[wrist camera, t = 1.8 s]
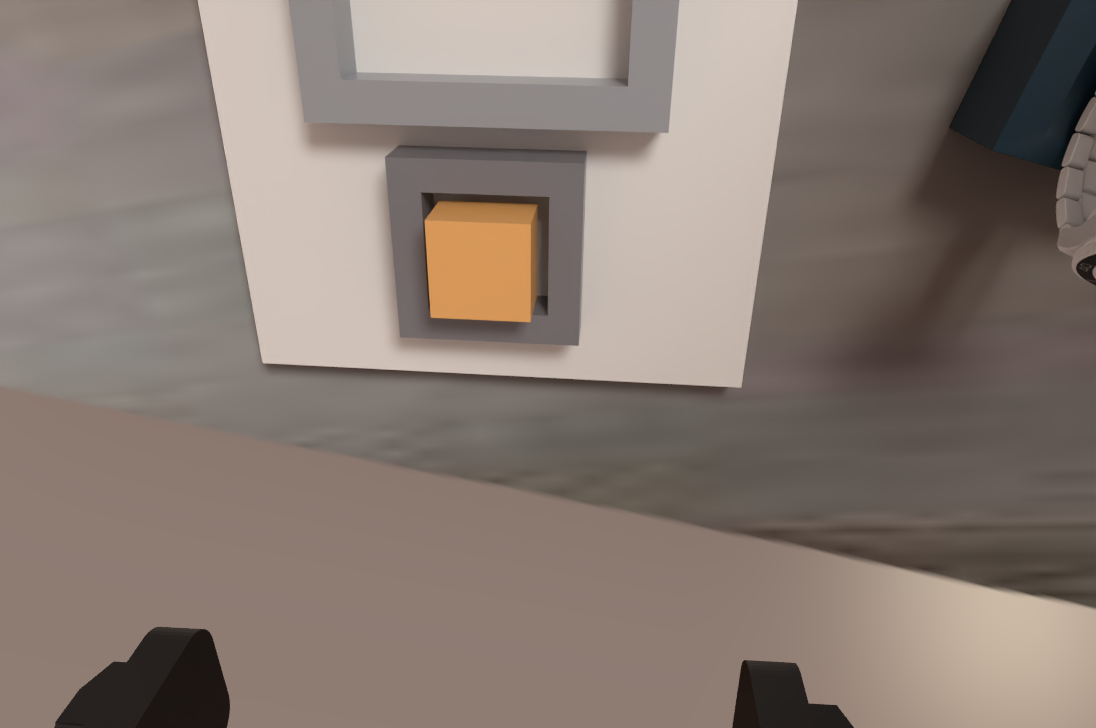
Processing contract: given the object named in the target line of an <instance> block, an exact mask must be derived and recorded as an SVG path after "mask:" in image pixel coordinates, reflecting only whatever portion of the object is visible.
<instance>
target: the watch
mask: <svg viewBox="0 0 1096 728" xmlns="http://www.w3.org/2000/svg"><path fill="white" fill-rule="evenodd" d="M949 128H951V129H953V130H955V131H957V132H959V133H961V134H962V135H964V136H966V137H968V138H970V139H972V140H974V141H976V142H977V143H979V144H981V145H983V146H985V147H987V148H989V149H990V150H992V151H996V152H999V153H1003V154H1006V155H1010V156H1013V157H1017V158H1020V159H1024V160H1027V161H1031V162H1034V163H1038V164H1041V165H1045V166H1048V167H1051V168H1055V169H1058V170H1061V172H1060V176H1059V180H1058V186H1057V193H1056V198H1057V199H1059V200H1058V201H1057V203H1056V220H1057V226H1058V228H1060V230H1059V237H1058V241H1057V247H1058V249H1059V250H1060V251H1062V252H1063V253H1065V254H1067V255H1069V256H1071V257H1073V260H1072V264H1071V265H1072V266H1071V267H1072V270H1073V271H1074V272H1075V274H1076V275H1078V276H1079V277H1080V278H1082V279H1083V280H1085V281H1087V282H1089V283H1091V284H1093V285H1096V0H1012V2H1011V4H1010V6H1009V8H1008V10H1007V12H1006V14H1005V16H1004V18H1003V20H1002V22H1001V24H1000V26H999V28H998V30H997V32H996V34H995V36H994V38H993V40H992V42H991V44H990V46H989V48H988V50H987V52H986V54H985V56H984V58H983V60H982V62H981V64H980V66H979V68H978V70H977V72H976V74H975V76H974V78H973V80H972V82H971V84H970V87H969V89H968V91H967V93H966V95H965V97H964V99H963V101H962V103H961V105H960V107H959V109H958V111H957V113H956V115H955V117H954V119H953V121H952V123H951V125H950V127H949Z"/></svg>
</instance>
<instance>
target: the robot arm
mask: <svg viewBox="0 0 1096 728" xmlns="http://www.w3.org/2000/svg"><path fill="white" fill-rule="evenodd" d="M229 710H230V701H229V694H228V691H227V687H226V684H225V680H224V677H223V673H222V670H221V666H220V663H219V659H218V656H217V652H216V649H215V645H214V641H213V638H212V636H211V634H210V632H208V631H207V630H205V629H189V628H170V627H169V628H168V627H156V628H154V629H152V630H151V631H150V632H148V634H147V635H146V636H145V637H144V638H143V640H142V641H141V643H140V644H139V646H138V647H137V649H136V650H135V651H134V653H133V654H132V656H131V657H130V659H129V660H128V661H127V662H113V663H111V664H110V665H109V666H108V667H107V668H105V669H104V670H103V671H102V672H100V673H99V674H98V675H97V676H95V677H94V678H93V679H92V680H91V681H89V682H88V683H87V684H86V685H85V686H83V687H82V688H81V689H80V690H79V691H78V692H77V694H76V695H75V696H74V698H73V699H72V700H71V702H70V703H69V705H68V706H67V707H66V709H65V710H64V711H63V713H62V714H61V715H60V717H59V718H58V719H57V721H56V724H55V728H227V724H228V718H229ZM732 728H854V727H853V726H852V725H851V724H850V722H849V721H848V719H847V718H846V717H845V716H844V714H843V713H842V712H841V710H840V709H839V708H838V706H837V705H824V704H823V705H822V704H808V700H807V696H806V692H805V688H804V684H803V681H802V677H801V673H800V670H799V668H798V666H797V665H796V663H785V662H765V661H748V660H744V661H743V663H742V666H741V673H740V679H739V686H738V692H737V699H736V706H735V713H734V721H733V727H732Z"/></svg>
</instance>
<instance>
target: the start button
mask: <svg viewBox="0 0 1096 728" xmlns="http://www.w3.org/2000/svg"><path fill="white" fill-rule="evenodd" d="M537 210H538V204H522V203H494V202H466V201H439V202H438V203H437V204H436V206H435V207H434V208H433V210H432V211H431V212H430V214H429V215H428V216H427V218H426V219H425V235H426V251H427V267H428V282H429V298H430V314H431V318H448V319H470V320H491V321H513V322H531V318H532V314H533V310H534V306H535V302H536V298H537Z"/></svg>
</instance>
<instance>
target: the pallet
mask: <svg viewBox="0 0 1096 728" xmlns="http://www.w3.org/2000/svg"><path fill="white" fill-rule="evenodd" d="M797 2H798V0H198V4H199V10H200V16H201V21H202V27H203V32H204V38H205V44H206V49H207V55H208V60H209V66H210V72H211V77H212V83H213V88H214V94H215V99H216V105H217V111H218V116H219V122H220V127H221V133H222V139H223V144H224V150H225V155H226V161H227V167H228V172H229V178H230V183H231V189H232V194H233V200H234V206H235V211H236V217H237V222H238V228H239V234H240V239H241V245H242V250H243V256H244V261H245V267H246V273H247V278H248V284H249V289H250V295H251V301H252V306H253V312H254V317H255V323H256V329H257V334H258V340H259V345H260V351H261V356H262V362H263V363H270V364H289V365H309V366H329V367H348V368H368V369H387V370H407V371H426V372H446V373H466V374H485V375H505V376H524V377H544V378H563V379H583V380H603V381H622V382H642V383H661V384H681V385H700V386H720V387H739V388H741V385H742V378H743V372H744V365H745V358H746V351H747V344H748V337H749V331H750V324H751V317H752V310H753V303H754V296H755V290H756V283H757V276H758V269H759V262H760V255H761V248H762V242H763V235H764V228H765V221H766V214H767V207H768V201H769V194H770V187H771V180H772V173H773V166H774V160H775V153H776V146H777V139H778V132H779V125H780V118H781V112H782V105H783V98H784V91H785V84H786V77H787V71H788V64H789V57H790V50H791V43H792V36H793V30H794V23H795V16H796V9H797ZM439 201H466V202H494V203H522V204H538V210H537V298H536V302H535V306H534V310H533V314H532V318H531V322H513V321H491V320H470V319H448V318H431V314H430V298H429V282H428V267H427V251H426V235H425V219H426V218H427V216H428V215H429V214H430V212H431V211H432V210H433V208H434V207H435V206H436V204H437V203H438V202H439Z"/></svg>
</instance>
